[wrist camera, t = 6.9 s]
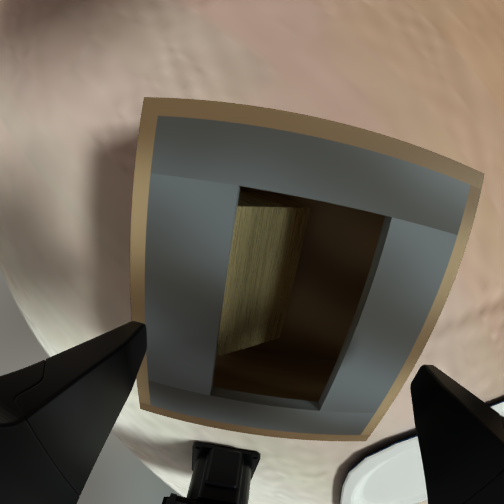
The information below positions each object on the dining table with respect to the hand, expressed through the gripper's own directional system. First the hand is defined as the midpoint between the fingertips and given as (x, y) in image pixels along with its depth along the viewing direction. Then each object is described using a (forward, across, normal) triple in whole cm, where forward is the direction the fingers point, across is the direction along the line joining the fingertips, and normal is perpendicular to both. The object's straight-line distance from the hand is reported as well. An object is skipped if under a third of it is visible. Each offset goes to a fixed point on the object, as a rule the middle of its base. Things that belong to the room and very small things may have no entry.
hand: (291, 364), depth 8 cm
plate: (+10, -26, +25) cm, 37 cm away
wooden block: (+7, 0, 0) cm, 7 cm away
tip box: (+9, 0, 0) cm, 9 cm away
